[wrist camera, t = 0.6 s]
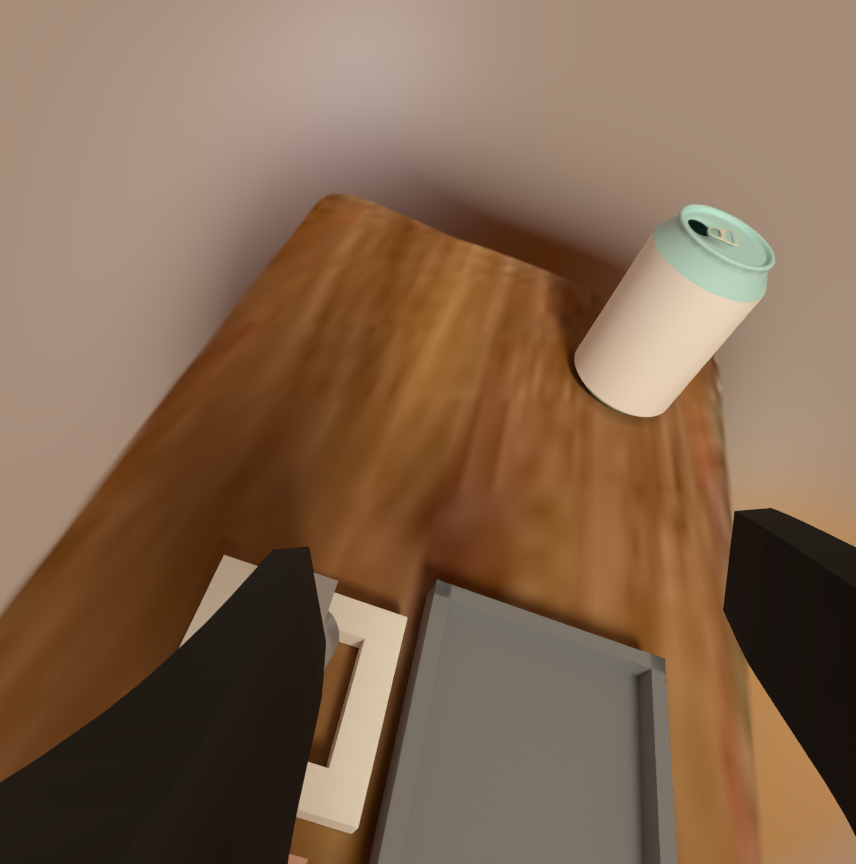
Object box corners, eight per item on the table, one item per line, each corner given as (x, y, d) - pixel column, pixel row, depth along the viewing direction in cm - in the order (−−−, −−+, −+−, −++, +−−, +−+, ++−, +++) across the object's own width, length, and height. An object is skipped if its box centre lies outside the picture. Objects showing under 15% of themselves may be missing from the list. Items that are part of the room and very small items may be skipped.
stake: (295, 745, 25) (326, 688, 20) (232, 725, 24) (251, 664, 20) (324, 654, 27) (357, 587, 23) (267, 635, 27) (290, 564, 23)
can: (602, 428, 42) (722, 274, 33) (551, 348, 45) (647, 191, 37) (683, 419, 45) (811, 276, 36) (629, 345, 49) (734, 200, 40)
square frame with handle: (318, 970, 21) (365, 957, 16) (62, 898, 20) (42, 864, 16) (401, 627, 29) (446, 558, 25) (221, 566, 28) (236, 484, 24)
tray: (667, 1153, 20) (696, 1160, 19) (325, 1060, 19) (336, 1062, 18) (646, 671, 31) (664, 658, 30) (426, 595, 30) (437, 579, 29)
